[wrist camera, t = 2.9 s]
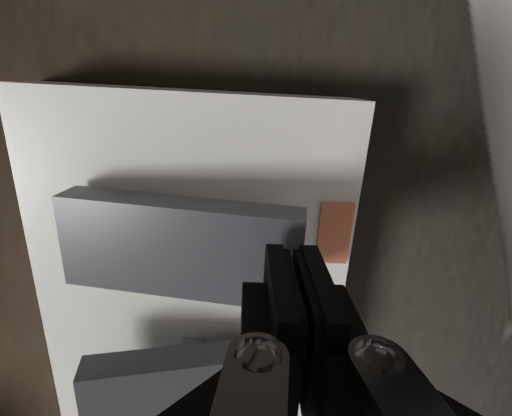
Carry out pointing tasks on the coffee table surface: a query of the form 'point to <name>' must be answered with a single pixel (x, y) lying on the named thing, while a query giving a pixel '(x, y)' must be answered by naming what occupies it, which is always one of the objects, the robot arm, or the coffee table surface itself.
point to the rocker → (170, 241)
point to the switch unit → (172, 191)
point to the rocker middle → (144, 378)
